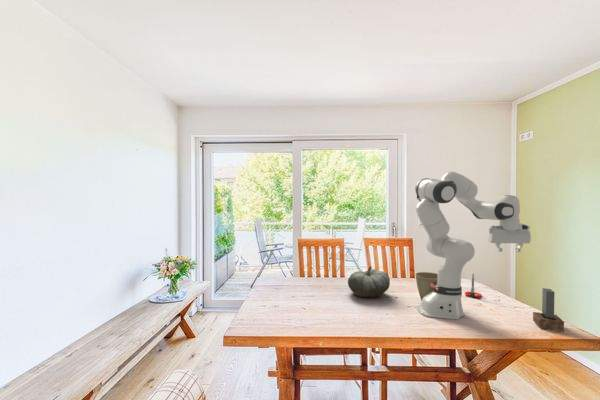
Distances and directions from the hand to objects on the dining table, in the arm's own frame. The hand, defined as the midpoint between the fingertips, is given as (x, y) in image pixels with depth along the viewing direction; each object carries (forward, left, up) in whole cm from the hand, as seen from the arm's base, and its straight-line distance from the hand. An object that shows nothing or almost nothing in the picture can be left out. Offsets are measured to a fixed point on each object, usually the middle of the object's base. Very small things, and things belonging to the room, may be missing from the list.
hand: (508, 251), depth 163 cm
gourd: (-71, +20, -31) cm, 80 cm away
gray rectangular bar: (+5, -21, -30) cm, 37 cm away
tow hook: (-7, +22, -31) cm, 39 cm away
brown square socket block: (+5, -21, -31) cm, 38 cm away
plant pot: (-39, +7, -31) cm, 50 cm away
